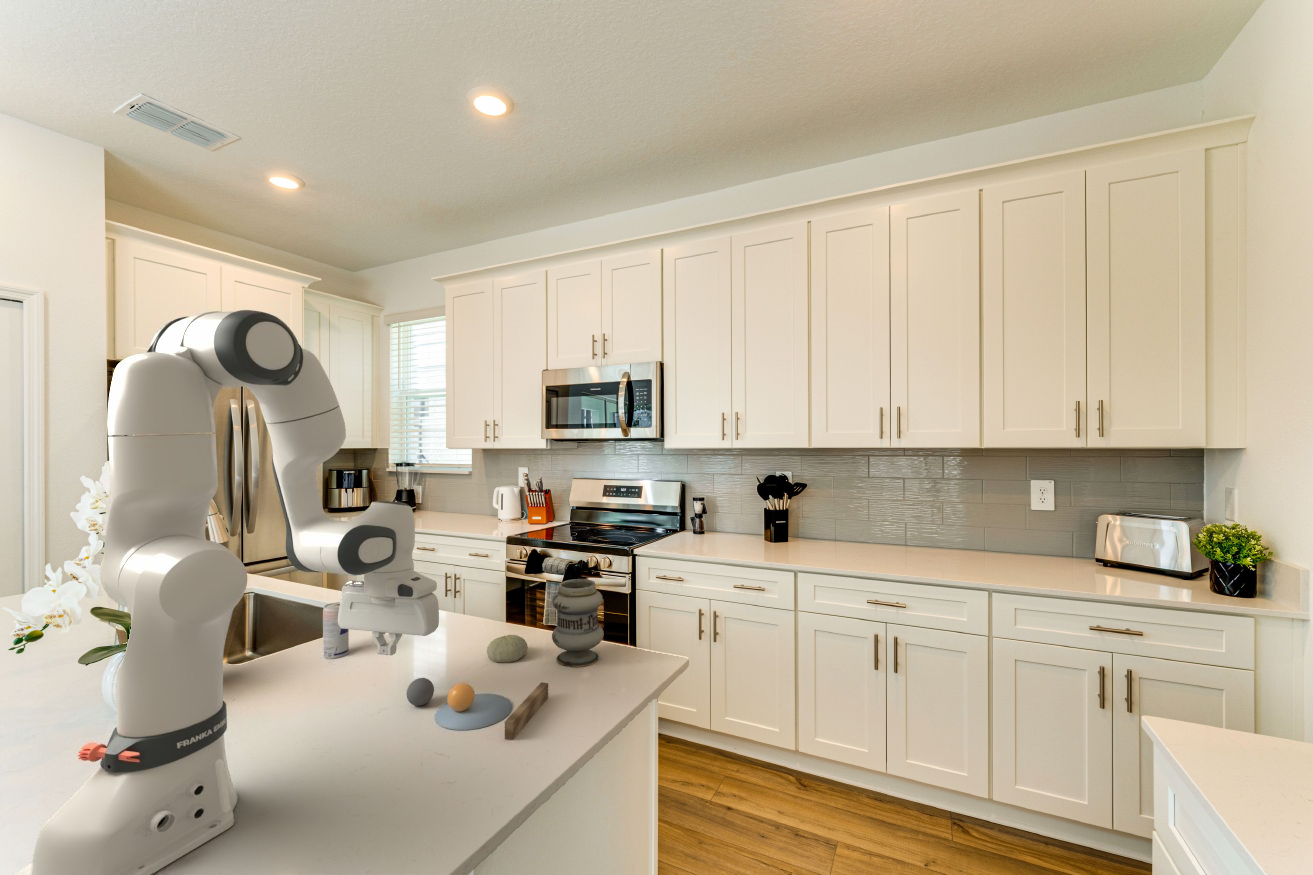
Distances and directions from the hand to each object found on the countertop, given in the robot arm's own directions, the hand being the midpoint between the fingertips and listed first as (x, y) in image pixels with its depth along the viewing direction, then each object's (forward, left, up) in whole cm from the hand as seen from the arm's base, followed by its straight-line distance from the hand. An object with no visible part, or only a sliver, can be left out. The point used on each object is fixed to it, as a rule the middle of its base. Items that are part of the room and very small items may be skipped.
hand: (386, 653), depth 110 cm
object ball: (+1, -16, -7) cm, 17 cm away
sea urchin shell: (+27, -12, -10) cm, 31 cm away
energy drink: (+20, +29, -10) cm, 36 cm away
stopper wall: (+1, -29, -10) cm, 31 cm away
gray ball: (+1, -6, -7) cm, 10 cm away
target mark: (+1, -18, -10) cm, 21 cm away
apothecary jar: (+29, -29, -10) cm, 42 cm away
